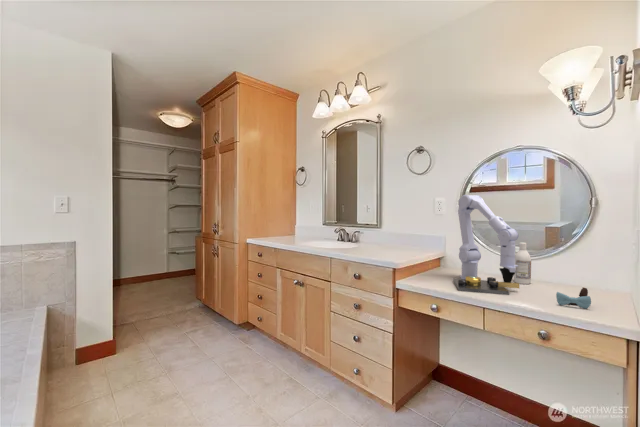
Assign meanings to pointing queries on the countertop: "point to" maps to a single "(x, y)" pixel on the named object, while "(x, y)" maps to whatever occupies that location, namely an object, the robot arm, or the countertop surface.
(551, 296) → the countertop surface
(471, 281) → the plate
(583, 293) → the compass
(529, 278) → the bath foam
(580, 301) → the bow tie
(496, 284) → the wooden stick
